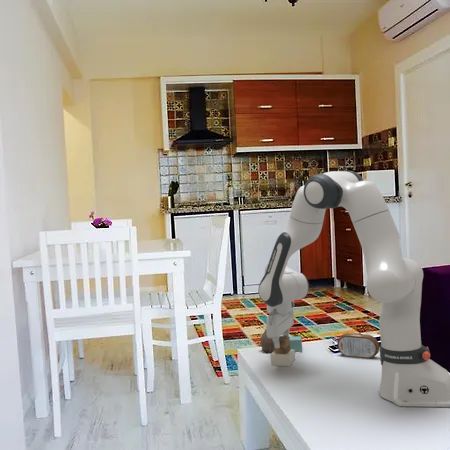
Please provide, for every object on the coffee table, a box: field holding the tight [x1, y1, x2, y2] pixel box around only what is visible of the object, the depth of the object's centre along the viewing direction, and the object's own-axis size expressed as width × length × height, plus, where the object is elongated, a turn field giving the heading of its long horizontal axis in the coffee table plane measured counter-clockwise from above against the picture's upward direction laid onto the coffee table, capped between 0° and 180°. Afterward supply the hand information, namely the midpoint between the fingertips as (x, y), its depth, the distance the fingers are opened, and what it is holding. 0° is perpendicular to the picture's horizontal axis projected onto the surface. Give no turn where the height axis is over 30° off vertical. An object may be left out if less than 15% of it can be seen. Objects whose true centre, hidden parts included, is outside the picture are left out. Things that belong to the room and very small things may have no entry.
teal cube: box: [289, 335, 303, 354], centre depth 199 cm, size 5×5×5 cm
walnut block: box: [274, 336, 290, 354], centre depth 185 cm, size 4×4×5 cm
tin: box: [336, 332, 380, 359], centre depth 185 cm, size 15×3×8 cm, turn 58°
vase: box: [259, 328, 274, 353], centre depth 201 cm, size 7×7×9 cm
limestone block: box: [269, 349, 296, 367], centre depth 186 cm, size 7×7×4 cm
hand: (282, 344), depth 185 cm, fingers open, 8 cm apart
